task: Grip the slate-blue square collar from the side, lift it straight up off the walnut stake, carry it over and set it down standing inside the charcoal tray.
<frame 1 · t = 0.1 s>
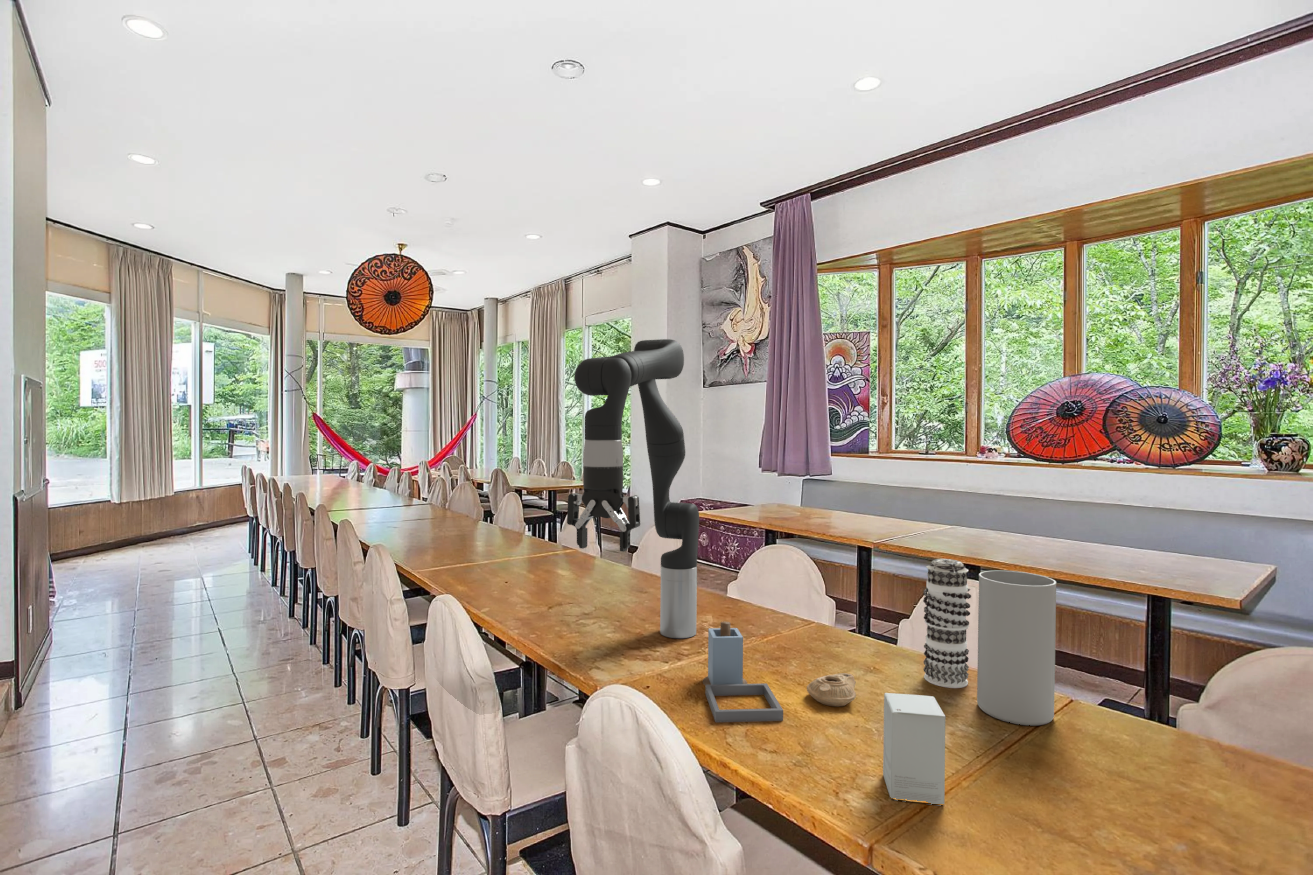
hand: (603, 549, 123), 29 cm above the table, tool pointing down, fingers open, 8 cm apart
decorative candle: (945, 680, 135), on the table
pottery oil lamp: (837, 703, 124), on the table
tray: (742, 711, 119), on the table
stake: (724, 686, 131), on the table
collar: (724, 681, 131), point 1 cm above the table, touching stake
cylinder vase: (1014, 712, 120), on the table
supplement box: (912, 790, 94), on the table
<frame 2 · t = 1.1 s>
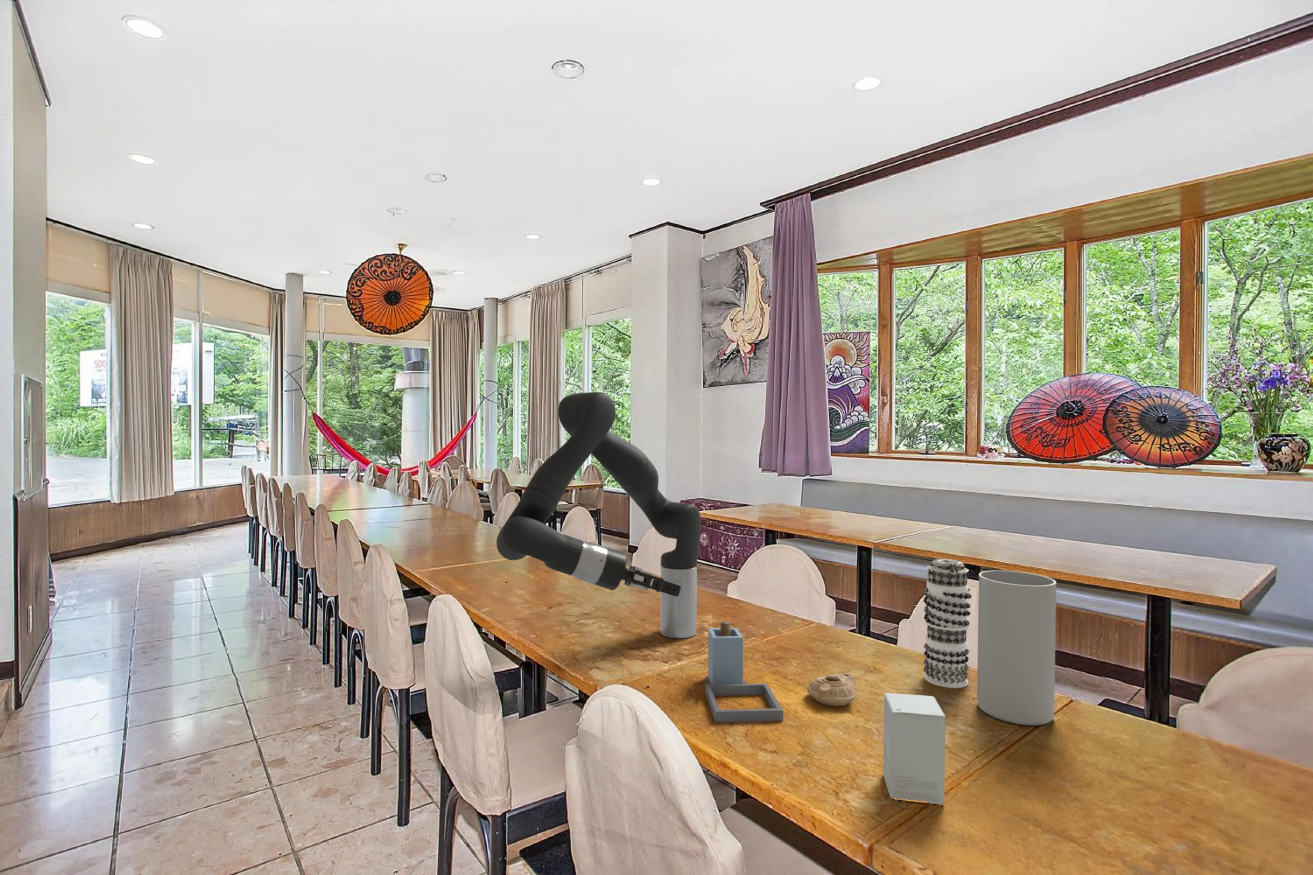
hand: (671, 589, 131), 20 cm above the table, tool tilted 70°, fingers open, 8 cm apart
nothing on the table moved.
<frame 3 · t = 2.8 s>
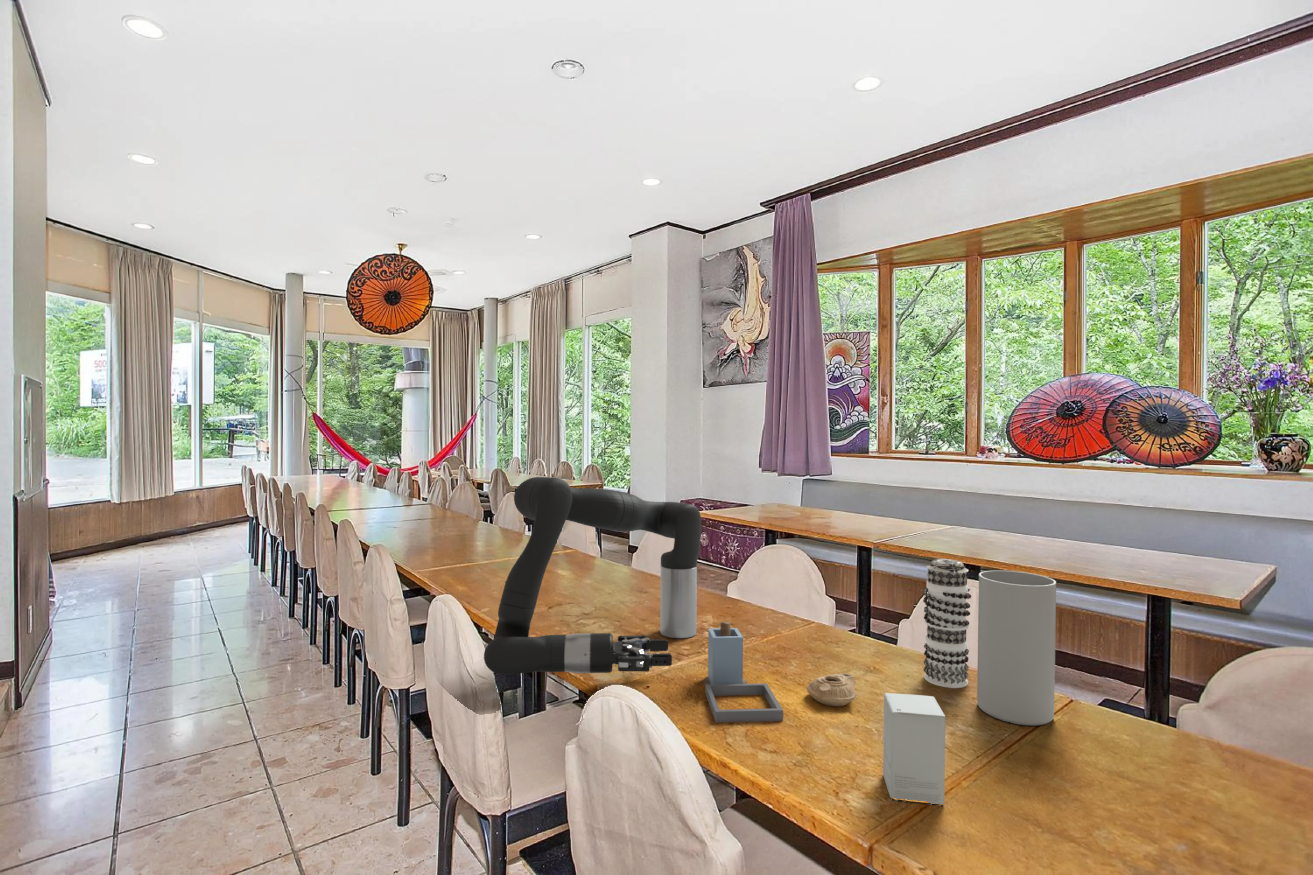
hand: (669, 652, 130), 7 cm above the table, tool horizontal, fingers open, 8 cm apart
nothing on the table moved.
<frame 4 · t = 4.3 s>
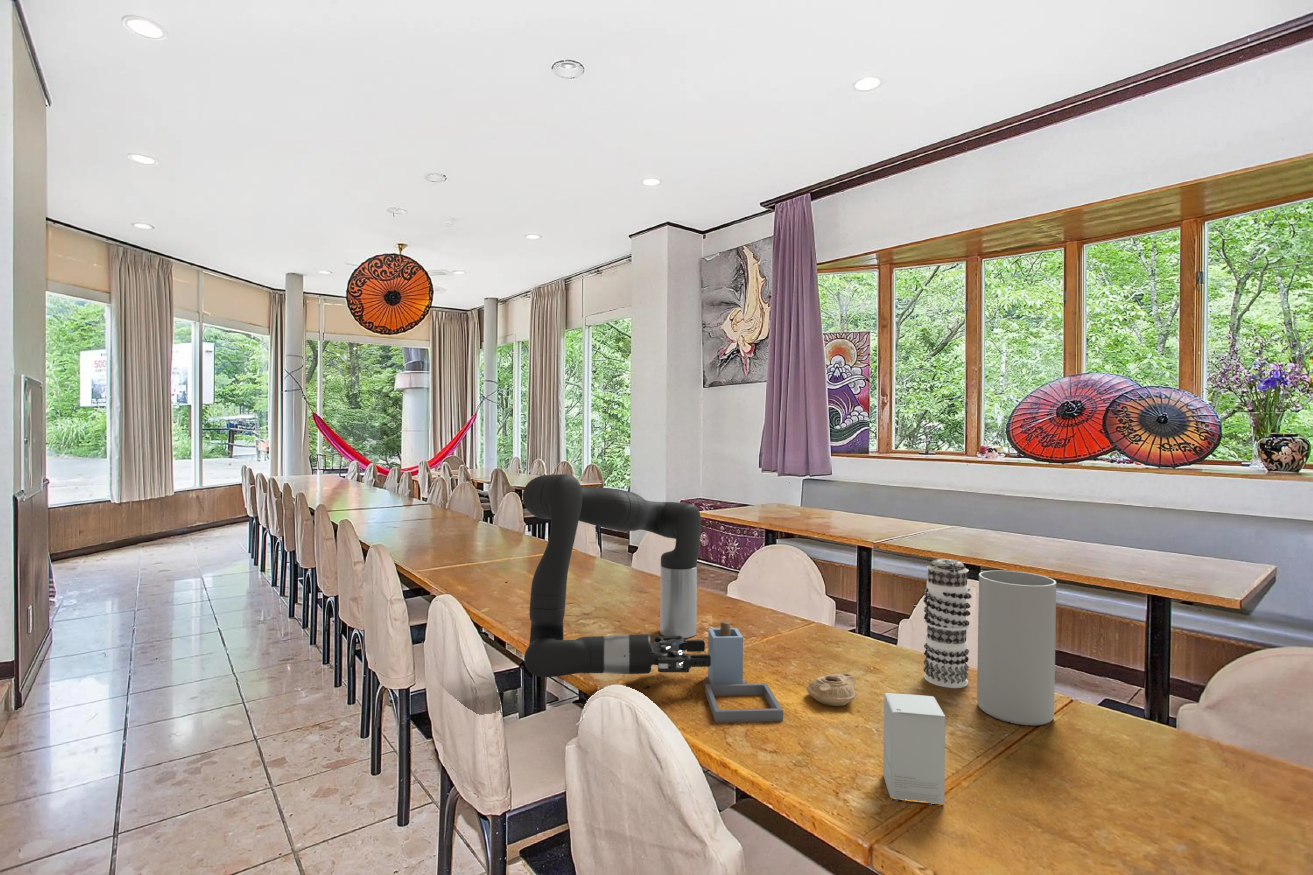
hand: (707, 652, 131), 7 cm above the table, tool horizontal, fingers open, 8 cm apart
nothing on the table moved.
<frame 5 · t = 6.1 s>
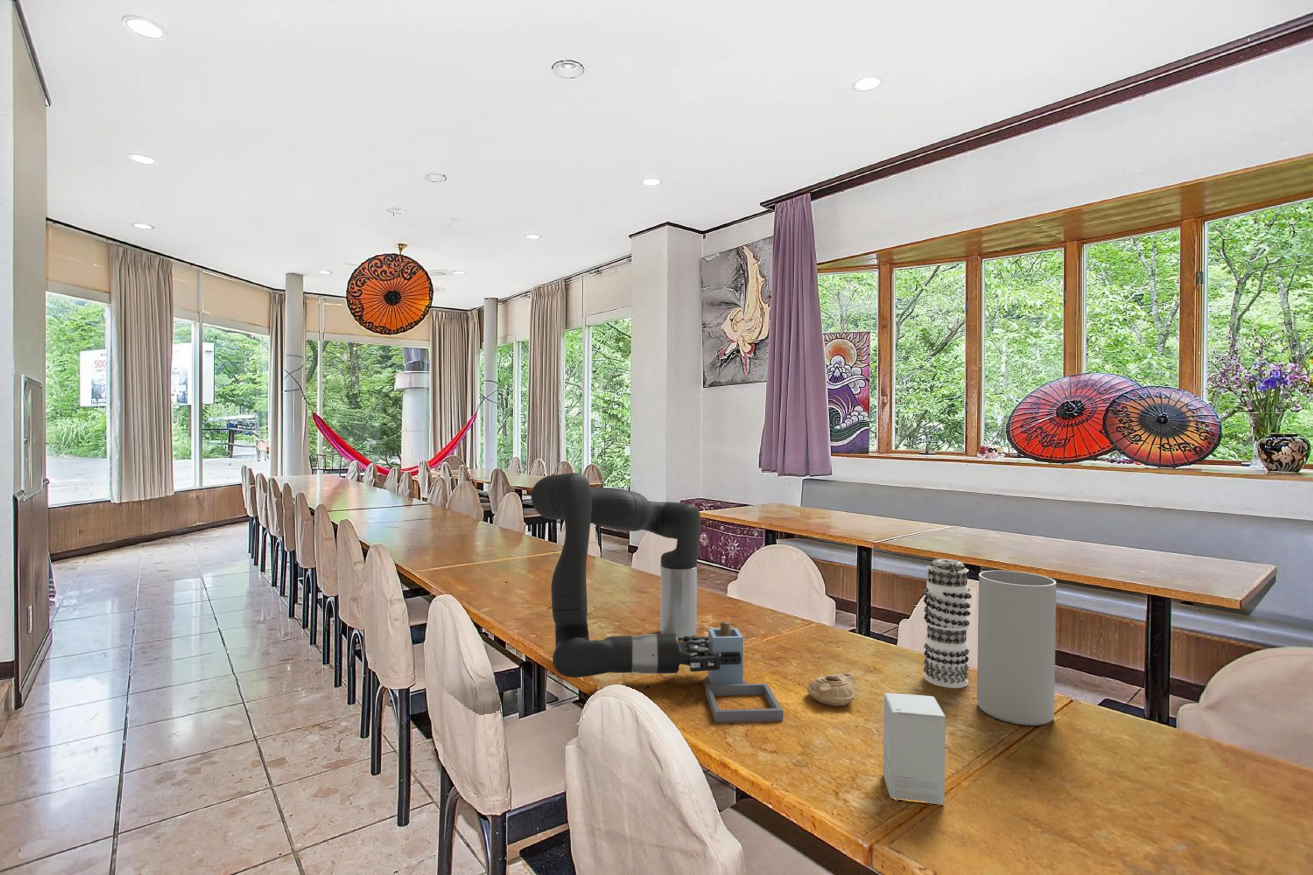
hand: (736, 652, 131), 7 cm above the table, tool horizontal, fingers closed on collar, 6 cm apart
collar: (725, 681, 131), point 1 cm above the table, touching gripper, stake
everything else where it was.
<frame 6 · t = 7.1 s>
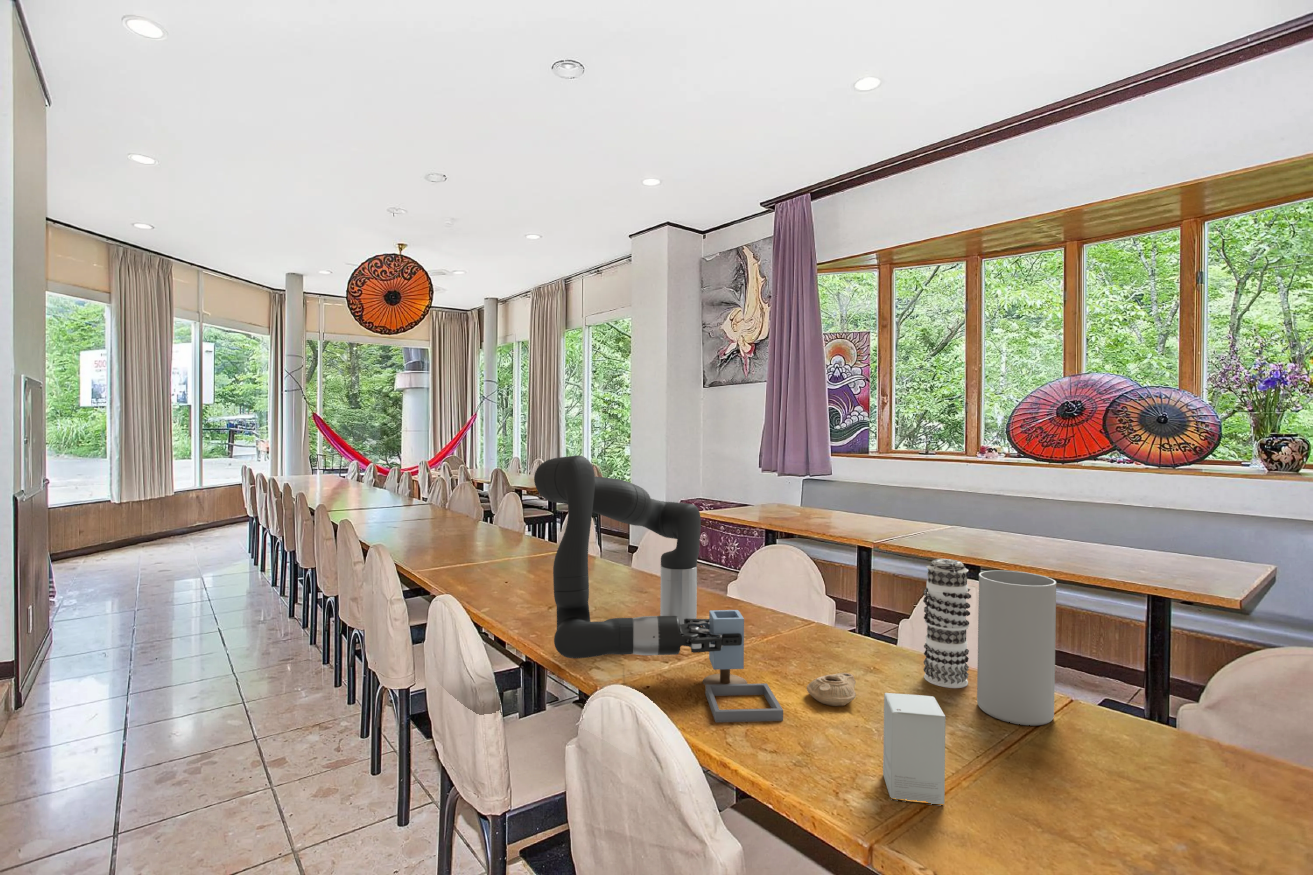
hand: (737, 633, 131), 11 cm above the table, tool horizontal, fingers closed on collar, 6 cm apart
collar: (726, 663, 131), point 5 cm above the table, touching gripper
everything else where it was.
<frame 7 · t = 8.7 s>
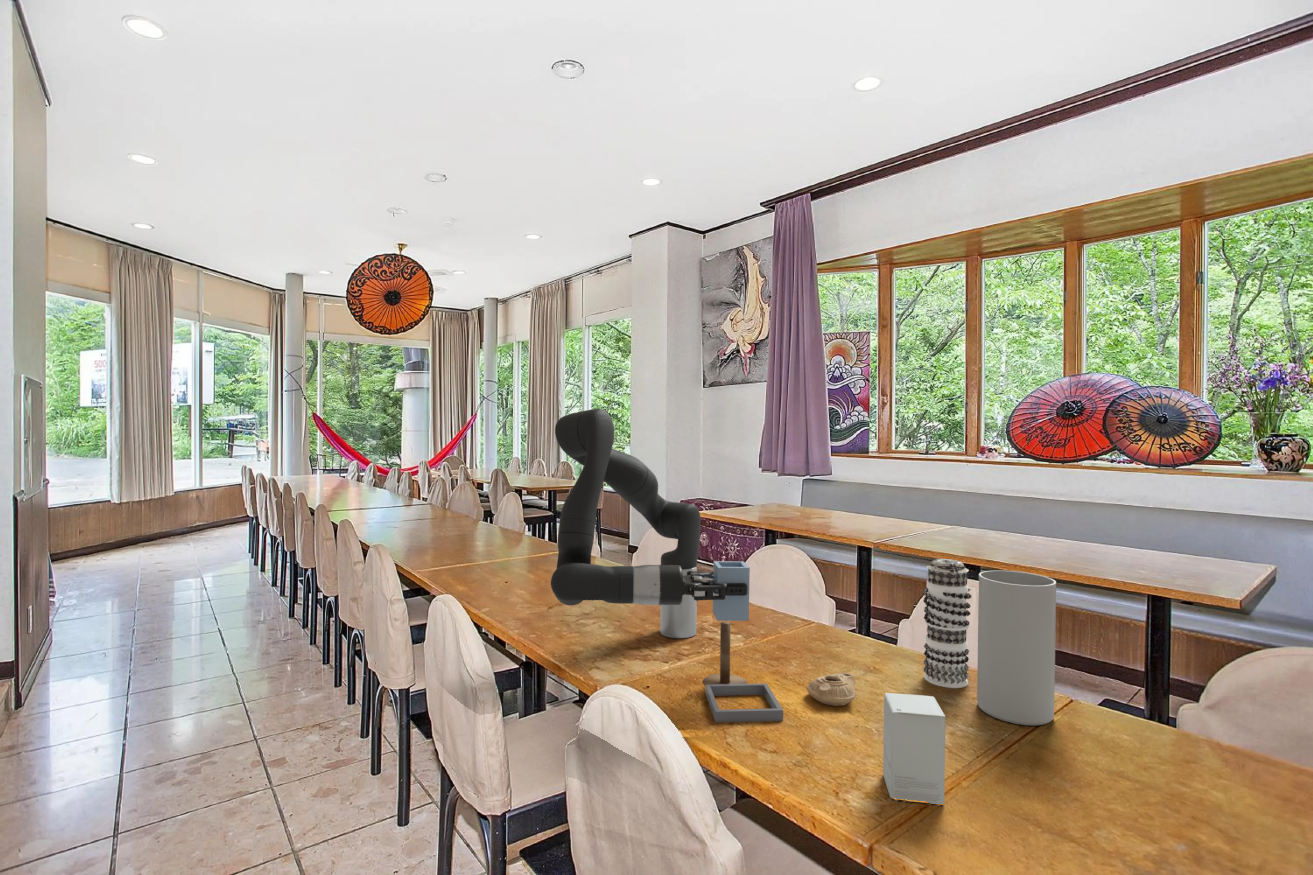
hand: (743, 585, 125), 22 cm above the table, tool horizontal, fingers closed on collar, 6 cm apart
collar: (730, 616, 125), point 16 cm above the table, touching gripper
everything else where it was.
when the fingers open (8 cm above the table, at t = 12.2 s): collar drops 2 cm, resting on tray.
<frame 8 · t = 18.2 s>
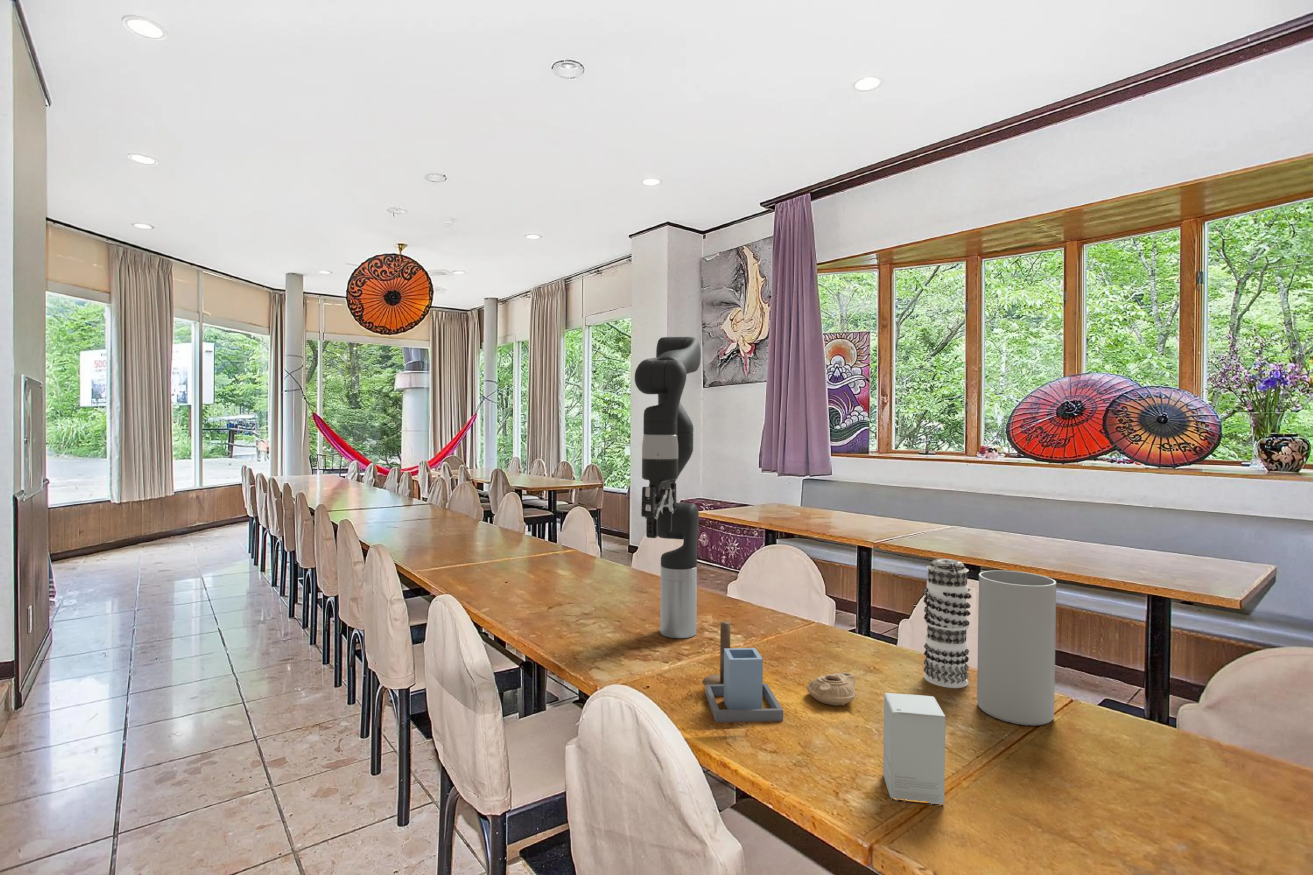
hand: (659, 534, 135), 30 cm above the table, tool pointing down, fingers open, 8 cm apart
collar: (742, 707, 119), point 1 cm above the table, touching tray
everything else where it was.
at the end: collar inside the target area on the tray (0.0 cm from its centre), point 0.8 cm above the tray's base; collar tilted 0°; the gripper is holding nothing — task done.
